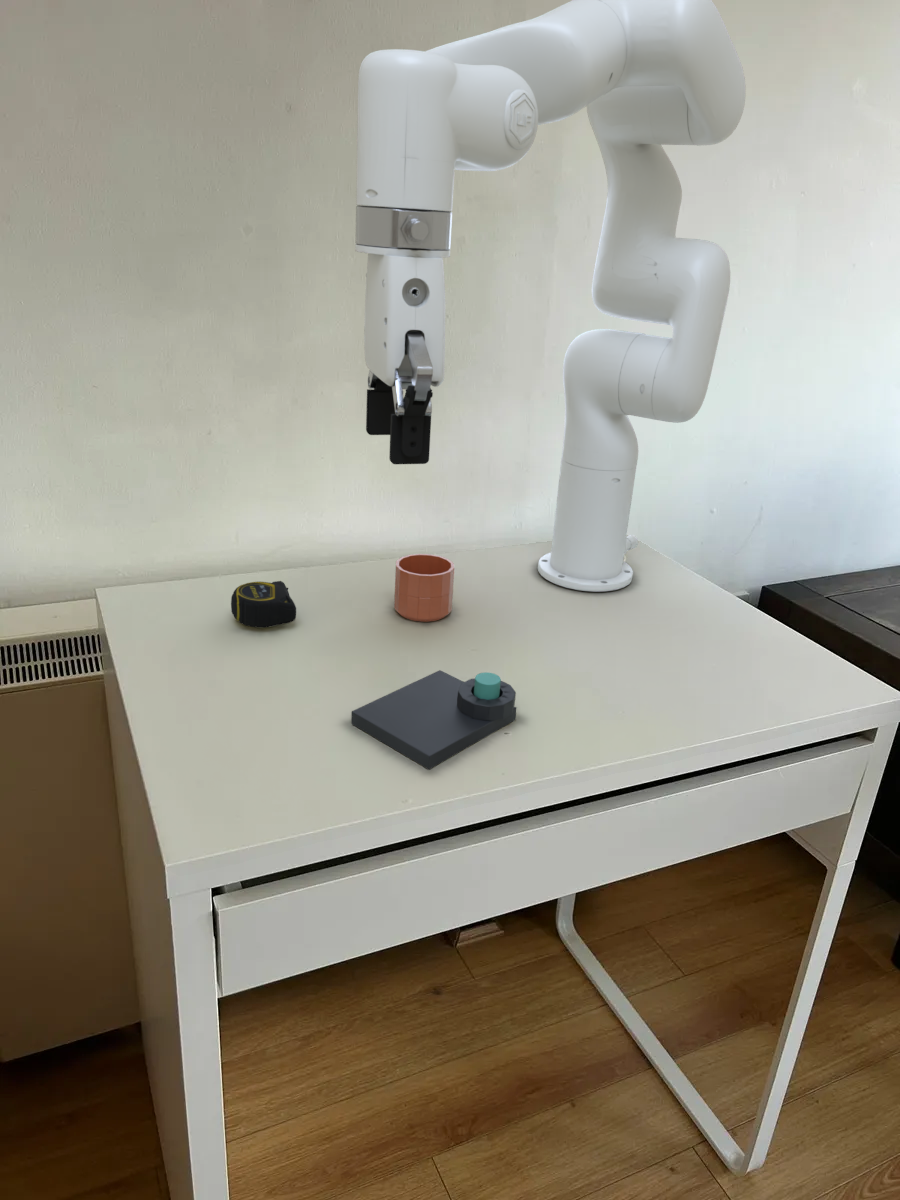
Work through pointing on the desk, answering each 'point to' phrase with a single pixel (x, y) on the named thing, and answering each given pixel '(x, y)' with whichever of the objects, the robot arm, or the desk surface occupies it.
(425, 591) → the terracotta cylindrical cup
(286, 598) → the tape measure
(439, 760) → the scale
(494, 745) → the desk surface
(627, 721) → the desk surface
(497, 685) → the button
